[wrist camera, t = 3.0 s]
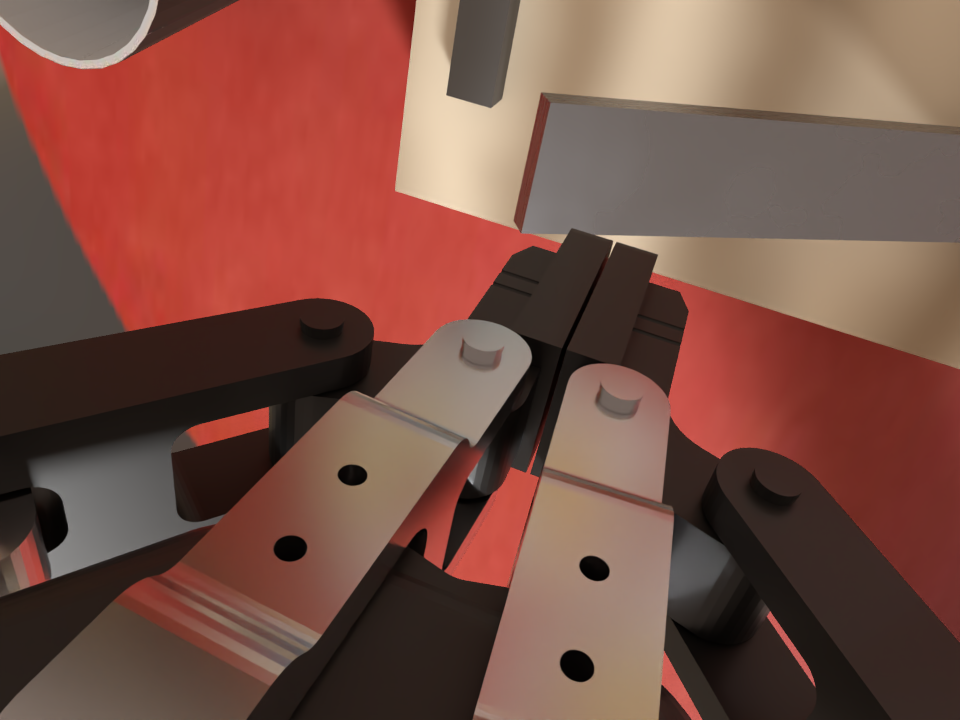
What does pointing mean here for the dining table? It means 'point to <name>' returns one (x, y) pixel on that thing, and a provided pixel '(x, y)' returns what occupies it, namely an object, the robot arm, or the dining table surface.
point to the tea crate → (707, 82)
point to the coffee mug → (99, 26)
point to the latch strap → (735, 173)
